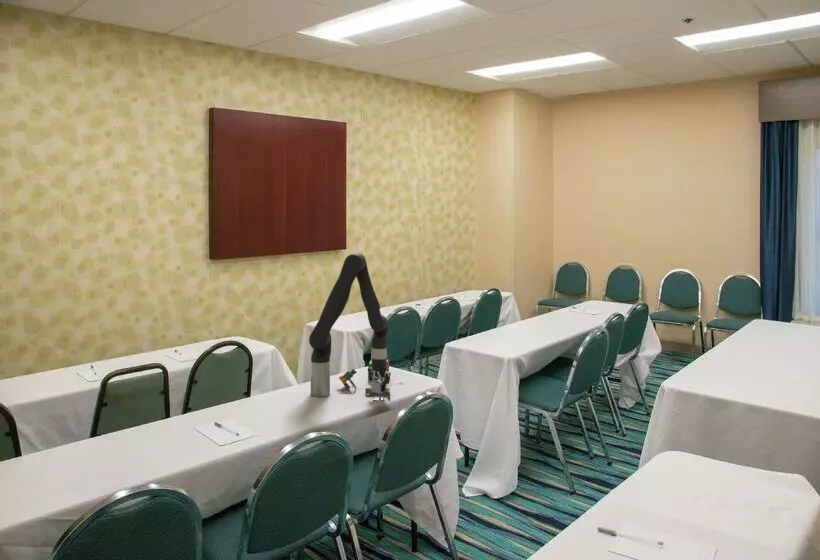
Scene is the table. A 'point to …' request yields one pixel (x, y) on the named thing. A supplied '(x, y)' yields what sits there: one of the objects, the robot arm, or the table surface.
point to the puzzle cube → (371, 366)
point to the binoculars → (348, 378)
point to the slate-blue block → (377, 386)
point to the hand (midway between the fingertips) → (379, 390)
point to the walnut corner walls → (369, 391)
